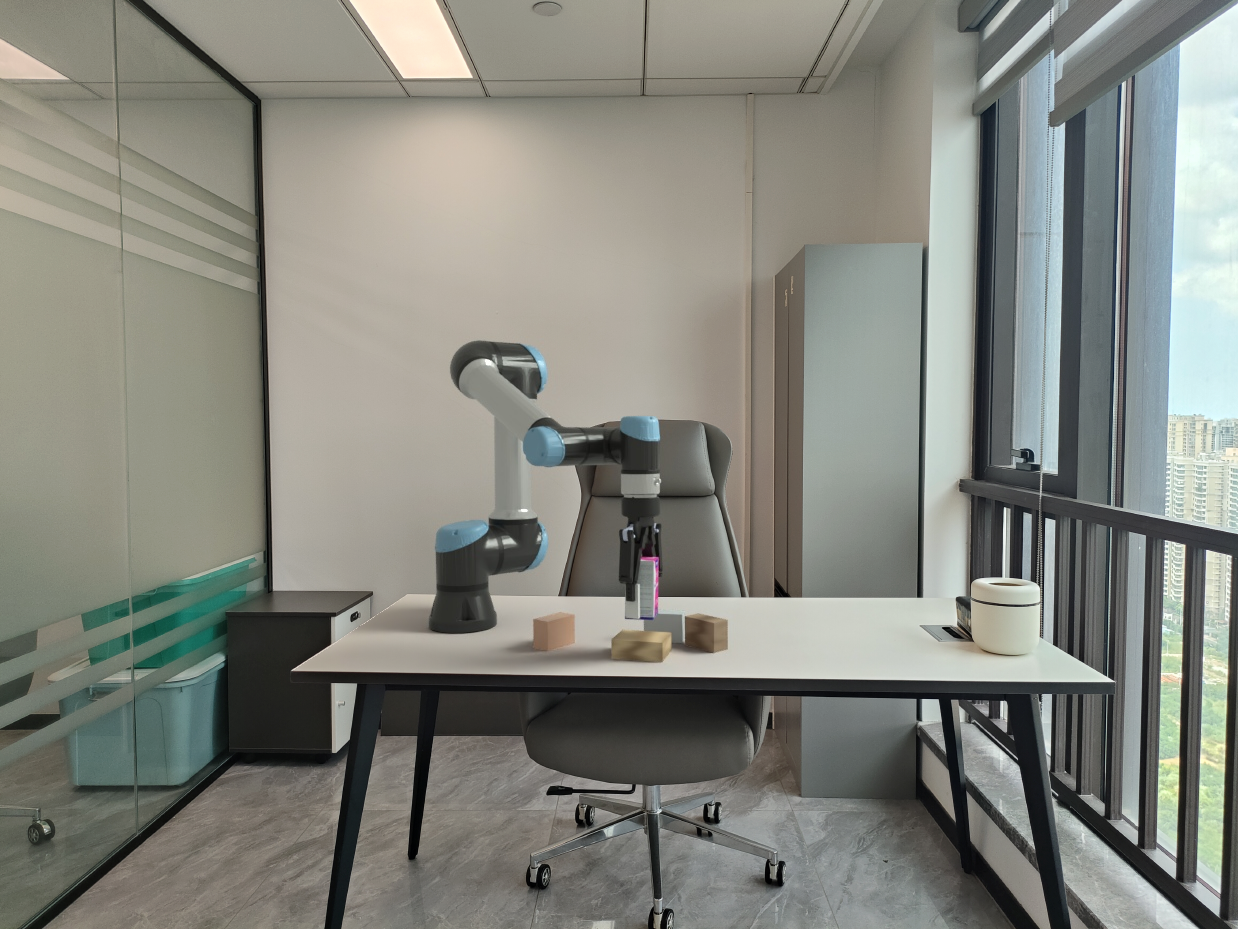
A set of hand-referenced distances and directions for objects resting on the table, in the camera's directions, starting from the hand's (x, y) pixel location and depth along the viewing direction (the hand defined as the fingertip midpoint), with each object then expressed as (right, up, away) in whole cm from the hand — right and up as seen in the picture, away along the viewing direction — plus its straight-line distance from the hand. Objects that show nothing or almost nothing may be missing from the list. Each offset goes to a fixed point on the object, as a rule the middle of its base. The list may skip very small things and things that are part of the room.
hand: (641, 613), depth 151 cm
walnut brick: (+13, -8, +5) cm, 16 cm away
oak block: (0, -8, 0) cm, 8 cm away
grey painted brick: (+5, -8, +11) cm, 15 cm away
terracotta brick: (-18, -8, +8) cm, 21 cm away
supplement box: (0, -1, 0) cm, 1 cm away
